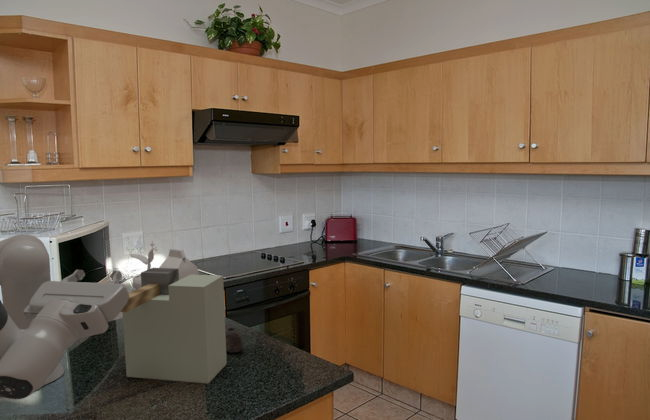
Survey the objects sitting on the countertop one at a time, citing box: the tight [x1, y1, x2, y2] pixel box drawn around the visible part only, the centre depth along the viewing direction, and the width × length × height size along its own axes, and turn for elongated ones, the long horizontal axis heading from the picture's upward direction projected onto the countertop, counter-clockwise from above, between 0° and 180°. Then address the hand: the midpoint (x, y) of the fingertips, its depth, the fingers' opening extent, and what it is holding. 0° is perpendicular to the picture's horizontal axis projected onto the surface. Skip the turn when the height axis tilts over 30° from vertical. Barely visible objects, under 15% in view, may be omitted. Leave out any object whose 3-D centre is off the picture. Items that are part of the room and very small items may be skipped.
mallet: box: [121, 267, 179, 312], centre depth 124 cm, size 21×8×6 cm, turn 168°
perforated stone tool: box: [225, 324, 243, 354], centre depth 147 cm, size 15×5×7 cm, turn 21°
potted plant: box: [129, 241, 158, 290], centre depth 200 cm, size 13×12×25 cm
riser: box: [122, 274, 228, 384], centre depth 130 cm, size 12×24×26 cm, turn 79°
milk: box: [158, 248, 200, 280], centre depth 174 cm, size 12×12×26 cm
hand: (99, 272), depth 105 cm, fingers open, 8 cm apart
